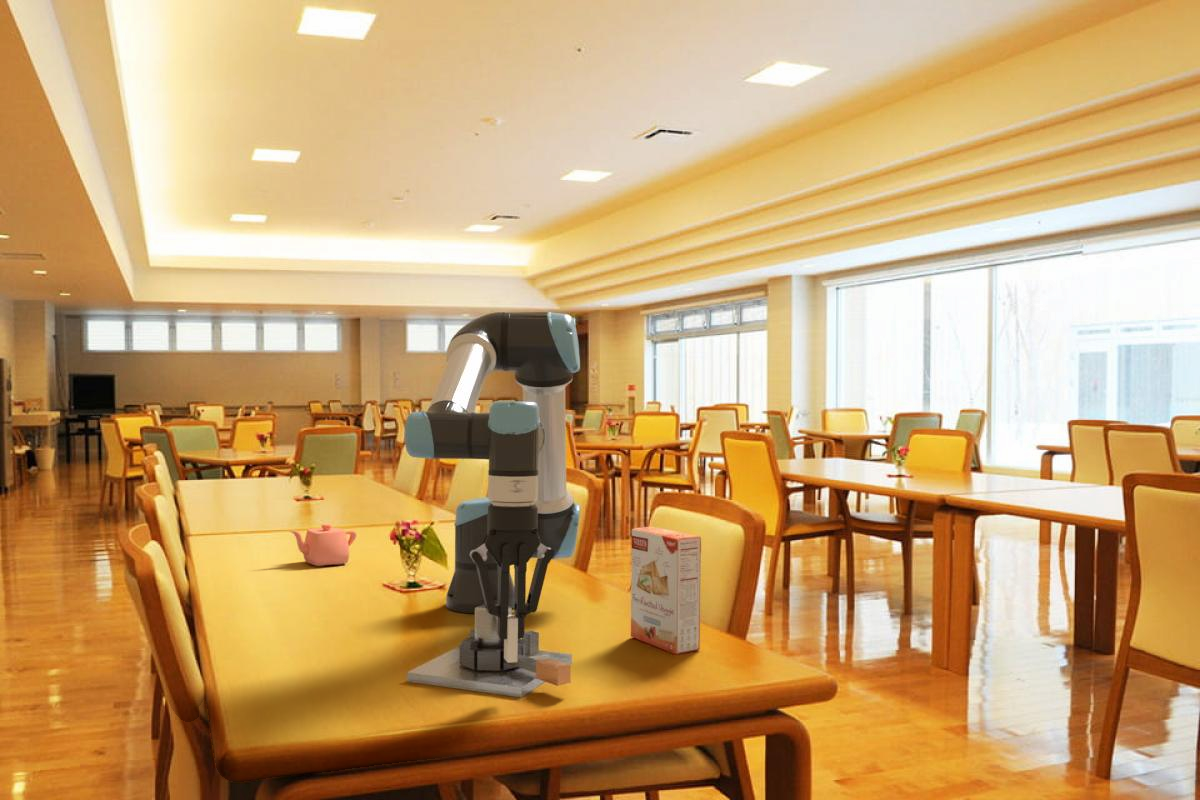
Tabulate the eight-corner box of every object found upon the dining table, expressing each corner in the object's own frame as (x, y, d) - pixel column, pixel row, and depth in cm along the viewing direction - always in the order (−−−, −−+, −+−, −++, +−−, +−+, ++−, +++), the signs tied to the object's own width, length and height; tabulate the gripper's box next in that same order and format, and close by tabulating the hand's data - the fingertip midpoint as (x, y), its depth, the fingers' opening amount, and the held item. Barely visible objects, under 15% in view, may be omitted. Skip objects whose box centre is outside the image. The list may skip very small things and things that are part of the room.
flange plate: (407, 681, 152) (407, 615, 152) (467, 650, 171) (468, 591, 170) (521, 697, 145) (522, 628, 145) (571, 662, 164) (572, 601, 163)
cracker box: (628, 638, 181) (630, 527, 180) (653, 634, 184) (655, 525, 184) (674, 655, 169) (676, 537, 169) (701, 651, 172) (702, 535, 172)
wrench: (448, 660, 158) (448, 634, 158) (497, 649, 165) (498, 624, 165) (538, 692, 142) (538, 664, 141) (588, 678, 149) (589, 651, 149)
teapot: (363, 564, 252) (364, 524, 252) (295, 570, 242) (295, 529, 242) (348, 557, 262) (349, 519, 262) (282, 563, 252) (282, 524, 252)
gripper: (474, 506, 139) (471, 669, 138) (561, 505, 142) (558, 663, 142) (465, 501, 146) (463, 656, 146) (548, 499, 150) (546, 650, 150)
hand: (510, 659), depth 144 cm, fingers closed
